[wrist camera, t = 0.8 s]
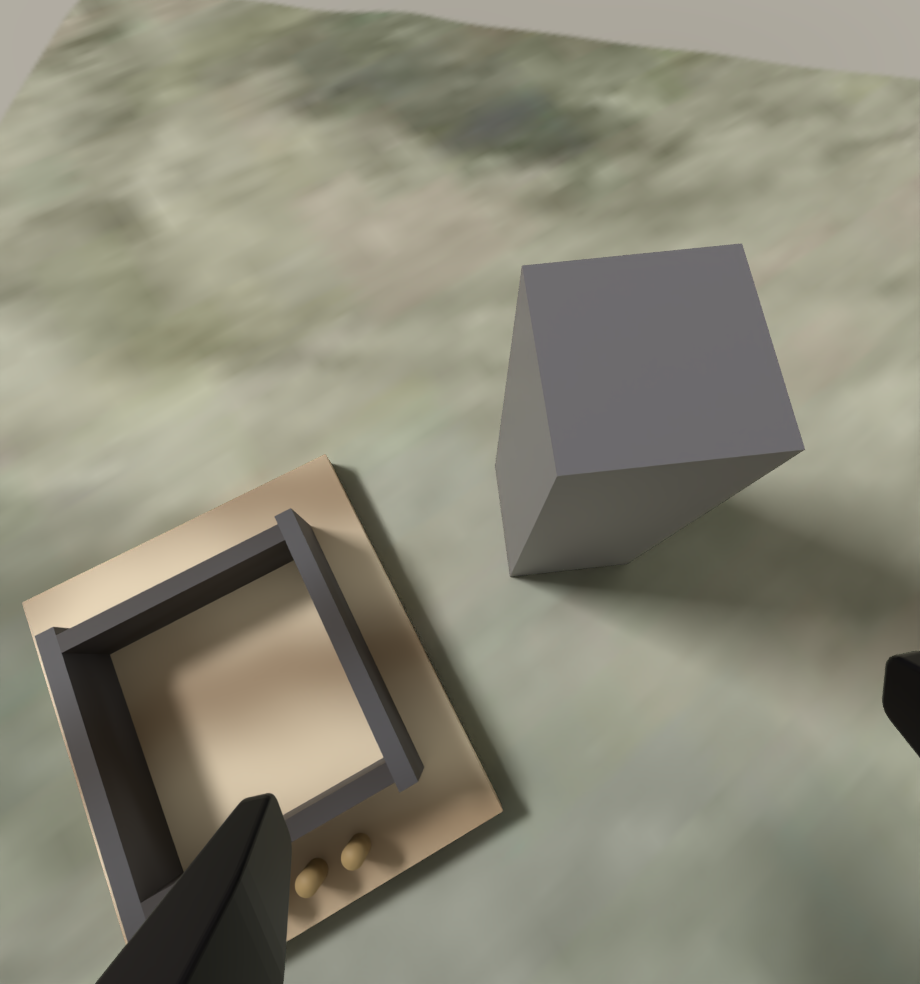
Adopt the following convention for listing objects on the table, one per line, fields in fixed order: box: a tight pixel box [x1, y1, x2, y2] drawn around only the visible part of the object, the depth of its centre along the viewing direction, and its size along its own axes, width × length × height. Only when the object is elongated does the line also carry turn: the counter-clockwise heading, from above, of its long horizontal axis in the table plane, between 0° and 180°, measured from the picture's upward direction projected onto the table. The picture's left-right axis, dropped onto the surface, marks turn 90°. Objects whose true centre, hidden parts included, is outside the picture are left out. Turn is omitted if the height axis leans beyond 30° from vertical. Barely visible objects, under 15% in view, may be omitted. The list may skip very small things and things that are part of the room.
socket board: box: [22, 454, 503, 944], centre depth 19 cm, size 14×12×4 cm
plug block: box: [495, 244, 805, 577], centre depth 17 cm, size 4×4×12 cm
